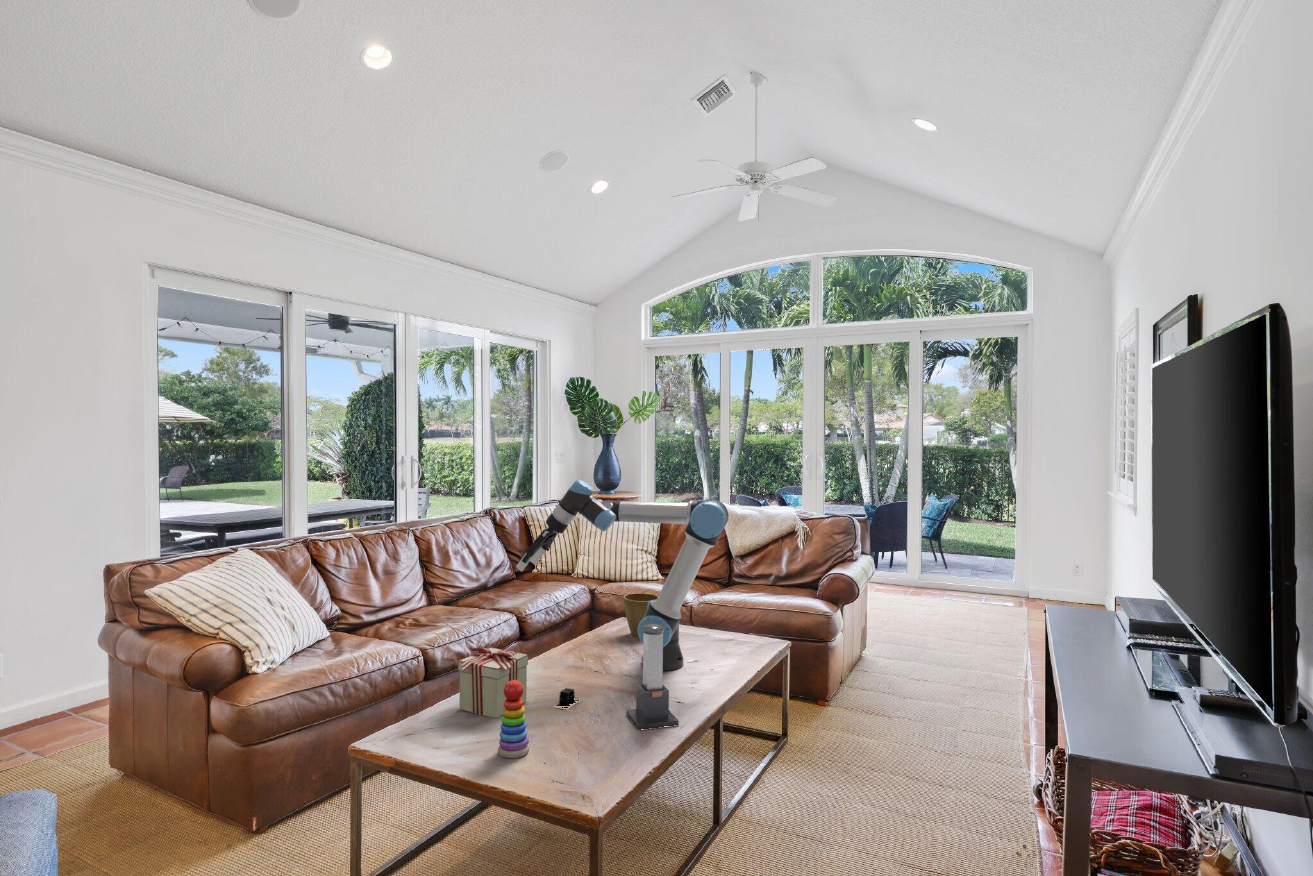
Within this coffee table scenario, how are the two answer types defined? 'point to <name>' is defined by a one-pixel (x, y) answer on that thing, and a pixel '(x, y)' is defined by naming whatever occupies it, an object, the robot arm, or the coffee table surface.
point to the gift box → (490, 679)
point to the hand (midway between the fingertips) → (525, 565)
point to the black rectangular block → (566, 697)
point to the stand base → (651, 709)
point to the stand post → (652, 657)
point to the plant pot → (636, 609)
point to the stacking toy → (513, 723)
